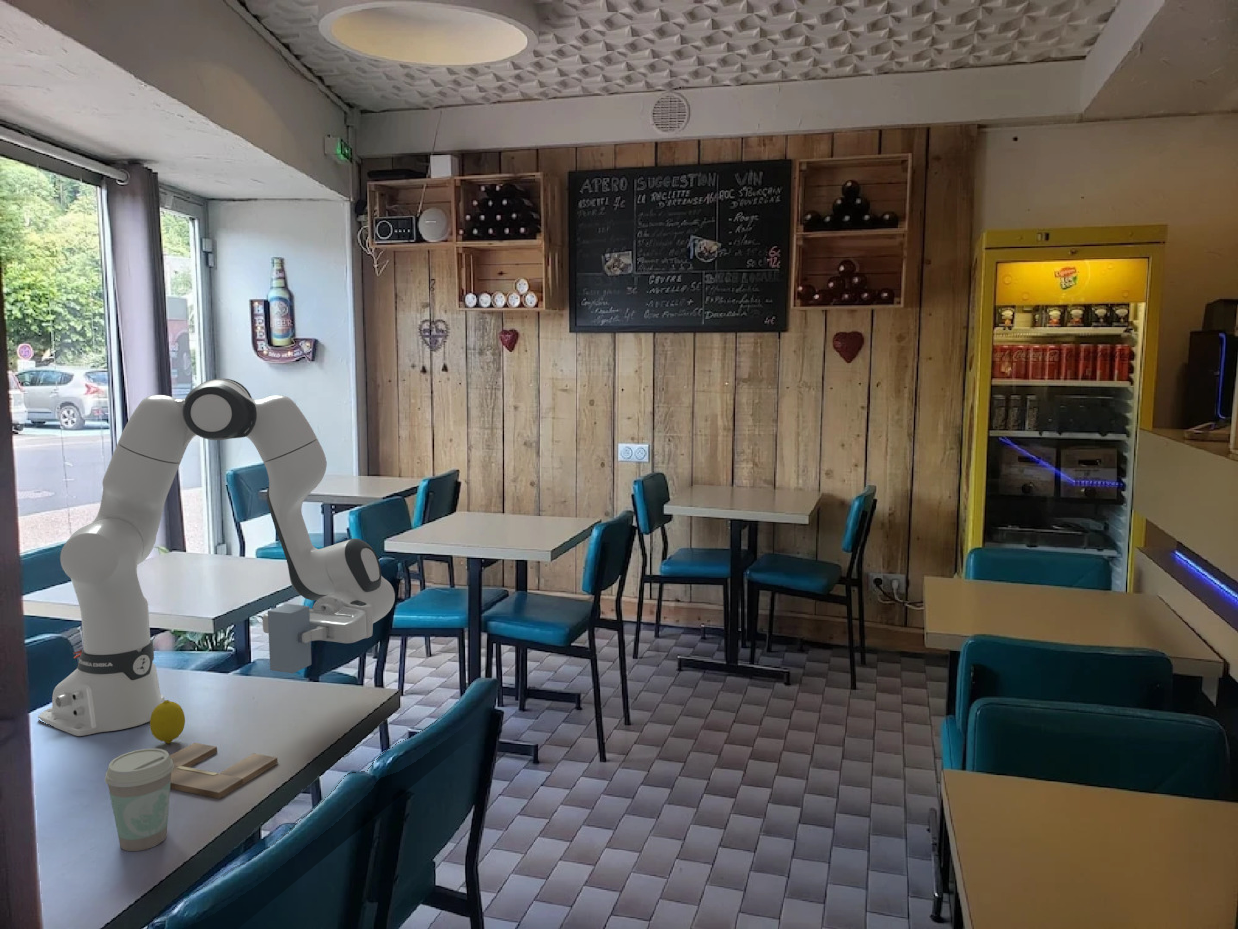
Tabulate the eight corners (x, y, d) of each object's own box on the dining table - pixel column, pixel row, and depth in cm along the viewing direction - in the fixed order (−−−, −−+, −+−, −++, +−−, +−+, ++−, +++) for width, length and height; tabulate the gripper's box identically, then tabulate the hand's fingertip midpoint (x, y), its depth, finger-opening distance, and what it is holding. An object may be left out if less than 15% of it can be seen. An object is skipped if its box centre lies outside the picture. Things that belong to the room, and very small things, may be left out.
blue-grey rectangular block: (270, 670, 155) (267, 610, 154) (289, 661, 159) (286, 603, 158) (292, 673, 153) (290, 613, 152) (311, 664, 158) (309, 606, 157)
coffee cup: (110, 864, 116) (105, 779, 115) (107, 835, 123) (102, 755, 122) (181, 845, 121) (176, 763, 120) (173, 819, 128) (169, 741, 127)
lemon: (192, 737, 156) (190, 695, 156) (173, 750, 151) (171, 707, 150) (163, 736, 157) (161, 694, 156) (144, 749, 152) (141, 705, 151)
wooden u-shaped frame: (131, 780, 140) (131, 774, 140) (194, 748, 152) (194, 742, 152) (219, 798, 134) (218, 792, 134) (277, 763, 146) (277, 757, 146)
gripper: (290, 595, 171) (239, 614, 158) (378, 605, 164) (332, 625, 151) (291, 626, 172) (240, 647, 159) (379, 637, 165) (333, 659, 152)
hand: (286, 636), depth 155 cm, fingers closed on blue-grey rectangular block, 5 cm apart
